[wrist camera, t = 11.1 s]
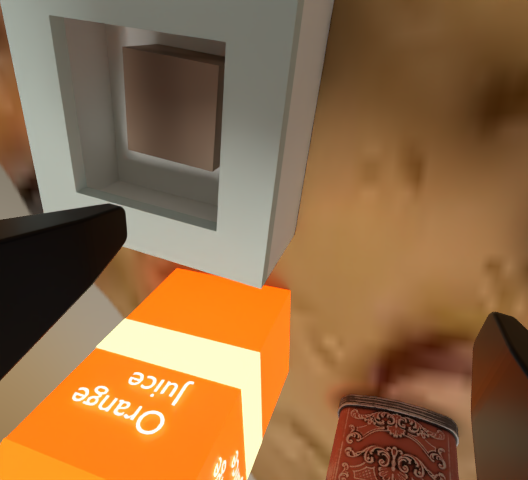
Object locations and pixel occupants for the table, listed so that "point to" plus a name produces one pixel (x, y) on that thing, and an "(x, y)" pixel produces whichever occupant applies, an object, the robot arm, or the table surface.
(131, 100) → the brown square block
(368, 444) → the ornate red flask
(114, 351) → the orange juice
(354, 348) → the table surface
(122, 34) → the slot box
